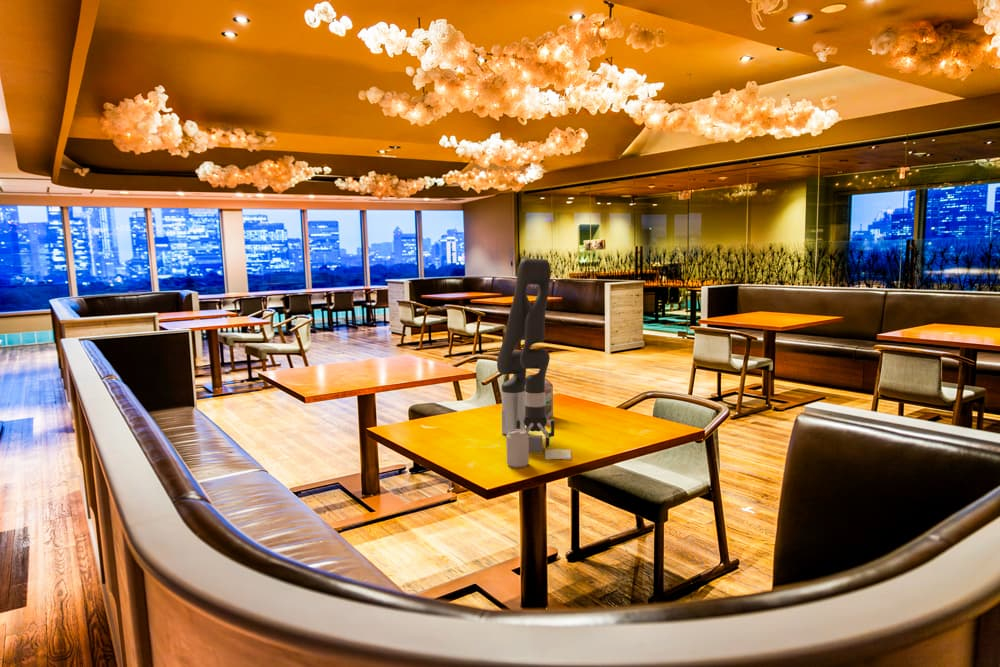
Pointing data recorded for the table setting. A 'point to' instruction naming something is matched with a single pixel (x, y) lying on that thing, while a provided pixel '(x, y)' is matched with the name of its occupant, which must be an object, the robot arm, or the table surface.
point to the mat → (558, 454)
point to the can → (517, 448)
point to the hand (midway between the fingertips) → (535, 447)
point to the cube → (535, 443)
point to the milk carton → (548, 398)
